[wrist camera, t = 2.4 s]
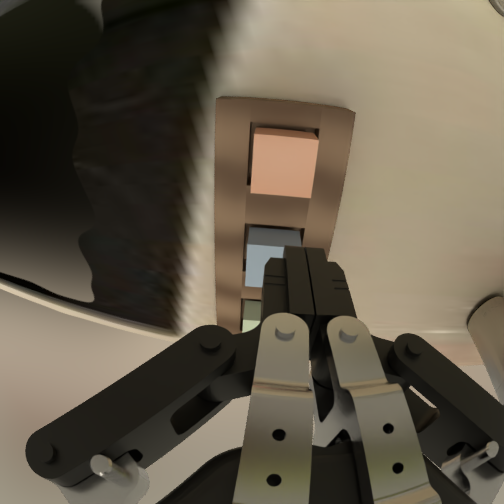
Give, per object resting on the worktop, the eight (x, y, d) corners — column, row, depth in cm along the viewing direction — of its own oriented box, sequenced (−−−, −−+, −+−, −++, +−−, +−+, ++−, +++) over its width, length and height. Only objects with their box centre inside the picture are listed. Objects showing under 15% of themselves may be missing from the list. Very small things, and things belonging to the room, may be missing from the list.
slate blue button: (292, 270, 32) (294, 289, 29) (247, 266, 32) (245, 286, 30) (299, 231, 29) (302, 248, 27) (249, 227, 29) (247, 244, 27)
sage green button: (281, 330, 38) (281, 349, 35) (243, 327, 38) (241, 346, 35) (286, 303, 35) (287, 322, 32) (245, 300, 35) (243, 319, 32)
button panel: (302, 328, 41) (304, 344, 39) (220, 322, 42) (217, 337, 39) (347, 108, 25) (355, 112, 22) (221, 96, 25) (216, 98, 22)
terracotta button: (306, 184, 26) (310, 198, 24) (252, 179, 27) (250, 193, 24) (313, 132, 24) (318, 140, 21) (256, 127, 24) (254, 133, 21)
